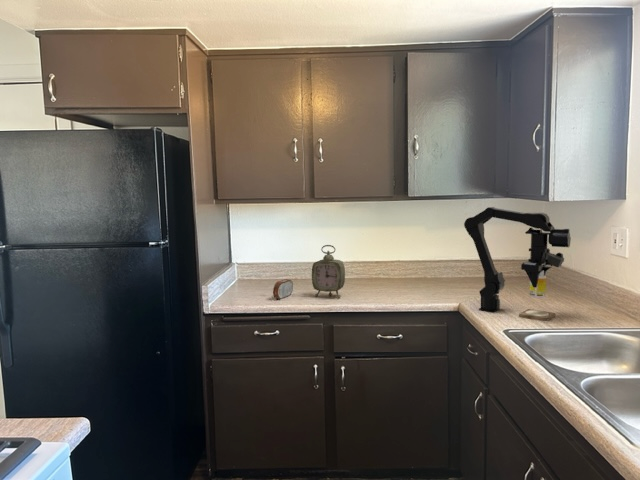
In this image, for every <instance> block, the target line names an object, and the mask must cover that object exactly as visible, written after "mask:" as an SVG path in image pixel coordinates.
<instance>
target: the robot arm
mask: <svg viewBox="0 0 640 480" xmlns="http://www.w3.org/2000/svg"><path fill="white" fill-rule="evenodd" d="M492 218H494V219H495V218H496V219H501V220H507V221H511V222H517V223H521V224H523V225H526V226H529V228H528V230H526V231H525V234H526V235H530V248H528V252H530V253H529V254H530V255H529V256H530V258H528V261H525V262H522V264H521V267H520V269H521V270H522V271H525V272H526V274H527V277H528V278H529V282H530V281H531V283H532V286H533V287H535V288H536V287H537V283H538V277H539V274H540V273H541V272H542V271H543V270H544V275H545V276H546V275H547V272H548V271H549V270H551V269H552V268H553V267H555V268H560V267H561V266H562V264H564V262H565V257H564V254H563V253H561V252H557V253H552V252H551V251H550V250H551V249H550V248H548V245H551V247H552V248H553V247H555V248H556V247H557V248H570V247H571V241H572V240H571V239H572V238H571V233H570V228H564V229H563V228H562V229H560V228H555V227H554V225H553V224H552V223H551V221H550V216H549V215H548V214H547V213H544V212H523V211H521V212H520V211H515V210H509V209H504V208H497V207H494V206H490V207H487V208H485V209H484V210H483V211H481V212H479V213H478V214H475V216H472V217H471V216H470V217H468V218H466V219H465V221H464V222H463V227H464V228H465V230H466V232H467V234H468V235H469V237H470V238H471V239H472V240H473V244H474V246H475V249H476V252H477V256H478V258H479V260H480V264H481V267H482V269H483V273H484V275H483V276H484V278H483V280H484V287H483V288H482V289H480V290H479V295H480V307H479V308H478V310H479V311H483V312H484V311H485V312H490V313H496V312H497V311H500V310H501V299H499V297H500V296H499V295H498V294H499V293H500V292H501V291H502V290H503V289H504V288H505V282H506V280H505V278H504V274H503V272H502V271H500V272H498V270H497V269H496V267H495V264H494V262H493V258H492V255H491V252H490V249H489V246H488V244H487V241H486V238H485V225H484V224H486V223H487V222H489V220H491V219H492Z"/></svg>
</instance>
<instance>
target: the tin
mask: <svg viewBox="0 0 640 480" xmlns="http://www.w3.org/2000/svg"><path fill="white" fill-rule="evenodd" d="M293 287H294V283H293V281H292V280H291V279H287V278H284V279H282V280H278V281H276V282H275V284H274V286H273V289H272V294H273V298H274V299H276V300H283V299H285V298H287V297H290V296H291V295H292V293H293Z"/></svg>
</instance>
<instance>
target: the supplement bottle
mask: <svg viewBox="0 0 640 480" xmlns="http://www.w3.org/2000/svg"><path fill="white" fill-rule="evenodd" d="M546 284H547V276H546V274H545V275H544V270H543V271H542V272H541V273H540V274H539V277H538V283H537V287H536V288H535V287H533V286H532V283H531V281H530V280H529V296H530V297H532V298H539V299H540V298H545V297H546V294H547V293H546V289H547V285H546Z"/></svg>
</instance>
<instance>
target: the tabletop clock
mask: <svg viewBox="0 0 640 480" xmlns="http://www.w3.org/2000/svg"><path fill="white" fill-rule="evenodd" d="M325 247H331V248H333V249H334V251H332V252H330V251H329V250H327V251H323V249H324V248H325ZM320 250H321V253H323V254H325V255H324V256H323V258H322V259H320V260H317V261H315V262H313V263H312V265H311V266H312V268H311V283H312V287H313V290H315V291H318V292H317V293H316V294H315V297H316V298H318V297H319V294H320V293H321V292H326V293H327V292H329V293H328V296H329V297H331V296H332V295H333V293H332V292H335V293H336V295H337V296H336V298H337V299H341V295H340V294H339V290H341V289H342V288H343V287H344V286H345V282H346V270H345V263H344V262H343V261H342V260H341V259H335V258H334V255H332V254H334V253H335V252H336V247H335V246H334V245H331V244H325V245H322V247H321V249H320Z"/></svg>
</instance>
